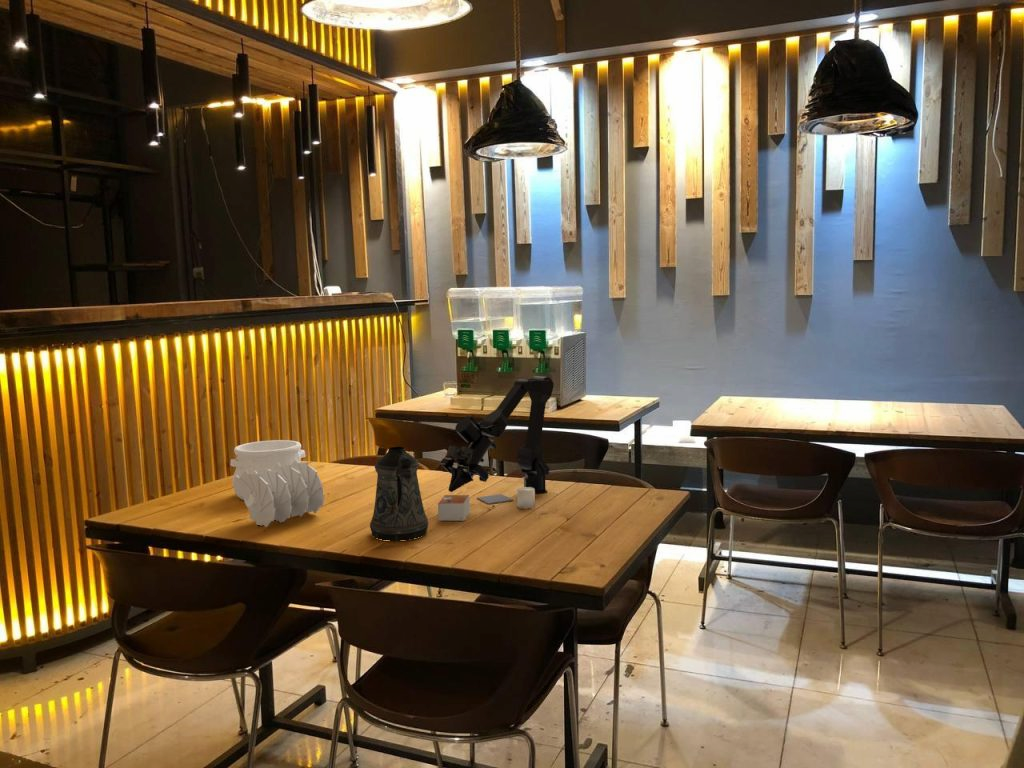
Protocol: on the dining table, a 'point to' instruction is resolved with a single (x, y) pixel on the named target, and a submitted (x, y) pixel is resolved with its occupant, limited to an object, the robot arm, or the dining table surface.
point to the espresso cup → (526, 497)
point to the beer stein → (398, 498)
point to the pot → (265, 456)
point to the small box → (453, 508)
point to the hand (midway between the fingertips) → (449, 491)
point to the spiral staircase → (280, 492)
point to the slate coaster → (495, 499)
